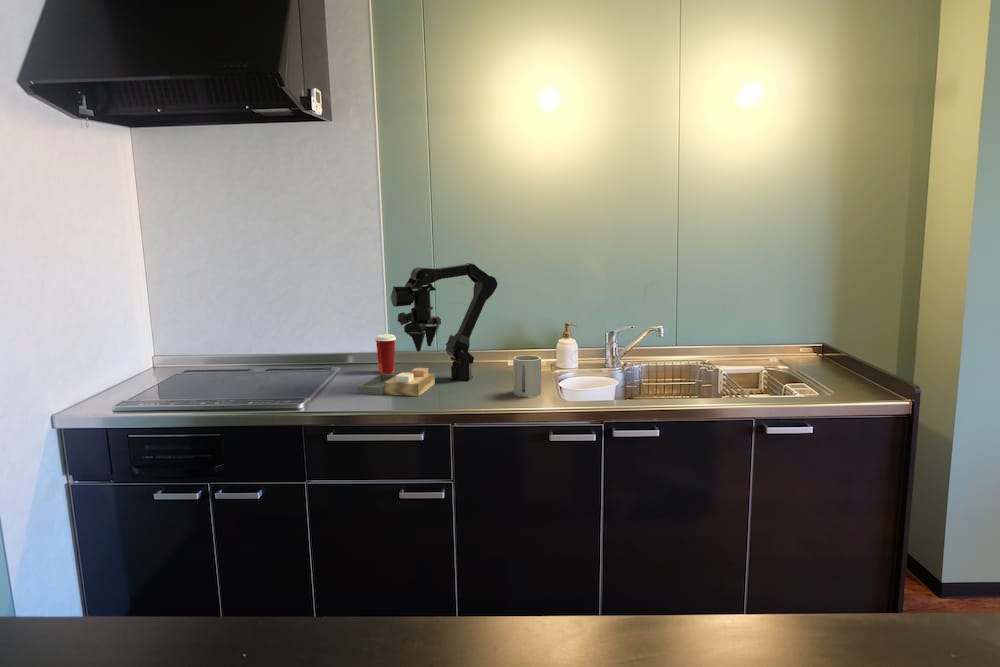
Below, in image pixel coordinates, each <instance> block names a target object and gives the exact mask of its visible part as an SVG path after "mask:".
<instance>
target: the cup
mask: <svg viewBox="0 0 1000 667" xmlns="http://www.w3.org/2000/svg"><path fill="white" fill-rule="evenodd" d="M512 364H513V366H512V370H513V373H512V374H513V375H512V376H513V377H512V378H513V379H512V380H513V382H512V385H513V386H512V387H513V388H512V389H513V390H512V393H514V394H515V395H514V394H513V395H514V396H516V395H518V396H517V397H520V396H526V397H525V398H528V397H527V396H535V397H538V396H537V395H539V396H540V394H542V357H541V356H538V355H531V354H530V355H529V354H526V355H525V354H524V355H522V354H521V355H516V356H513V359H512ZM522 390H525V391H522Z"/></svg>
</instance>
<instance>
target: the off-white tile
mask: <svg viewBox="0 0 1000 667" xmlns="http://www.w3.org/2000/svg"><path fill="white" fill-rule="evenodd" d="M399 373H400V374H399ZM399 373H398V374H399V375H397V374H396V375H397V376H396V382H405V383H409V382H411V381H412V380H414V374H409V373H401V372H399Z"/></svg>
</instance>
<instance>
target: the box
mask: <svg viewBox="0 0 1000 667" xmlns="http://www.w3.org/2000/svg"><path fill="white" fill-rule="evenodd" d="M396 375H397V374H392V373H391V374H381V373H379V374H378V375H375V376H373V377H371V378H369V379H368V380H365V381H364V382H363V383H360V384H359V385H357V393H358V394H361V395H363V394H365V395H377V396H379V395H382V396H384V395H385V394H384V382H385V381H387V380H389V379H390V378H392V377H394V376H396Z"/></svg>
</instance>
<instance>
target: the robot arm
mask: <svg viewBox="0 0 1000 667" xmlns="http://www.w3.org/2000/svg"><path fill="white" fill-rule="evenodd" d="M463 276H467V277H468V278H469V279H470V281H472V282H473V283H474V286H473V288H472V289H473V291H472V292H473V296H472V299H471V301H470V304H469V306H468V308H467V310H466V312H465V315H464V317H463V318H462V321H461V323H460V326H459V327H458V328H459V329H458V331H456V332H457V333H455V334H454V335H452V334H450V335H449V337H448V340H447V342H446V343H445V351H446V354H447V356H449V358H450V361H452V365H451V366H450V371H451V372H450V374H451V379H450V380H451V381H465V382H467V381H470V380H472V378H474V375H473V374H472V370H473V369H472V364H474V361H475V357H474V356H473V355H472V354H471V353H470V352H469V351H470V343H471V341H470V340H471V335H472V333H473V331H474V329H475V326H476V323H477V321H478V319H479V317H480V315H481V312H482V310H483V308H484V306H485V303H486V302H487V300H489V299H490V298H491V297H492V295H493V294H494V292H495V291H496V289H497V288H498V281H497V279H496V277H494V276H492V275H489V274H487V273H486V272H485V271H483V269H480V268H479V267H478V266H477V265H476V264H474V263H471V262H465V263H463V264H456V265H449V266H442V267H415V268H413V269H412V270H411V272H410V276H409V278H408V280H407V282H406V283H405V285H404V286H402V285H401V286H397V285H395V286H392V290H391V295H390V300H391V304H392V306H393V308H394V307H397V308H398V307H404V306H405V307H406V306H407V307H408V306H411V305H412V304H413V307H412V308H411V310H410V312H408V313H405V312H401V313H398V315H397V322H398V323H400V325H401V326H404V327H403V332H404V333H406V335H408V336H410V337H411V339H412V341H413V344H414V346H415V350H416V352H419V353H420V352H421V351H422V347H423V343H424V339H426V343H427V344H426V345H427V347H431V346H432V344H433V341H434V340H435V336H436V334H437V332H438V329H439V328H440V325H442V319H441V318H440V316H433V315H432V310H433V309H434V308H433V306H432V305H431V292H433V291H434V292H435V291H437V288H436V287H434V285H432V284H433V283H435V282H438V281H440V280H444V279H450V278H451V279H452V278H457V277H463Z"/></svg>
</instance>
